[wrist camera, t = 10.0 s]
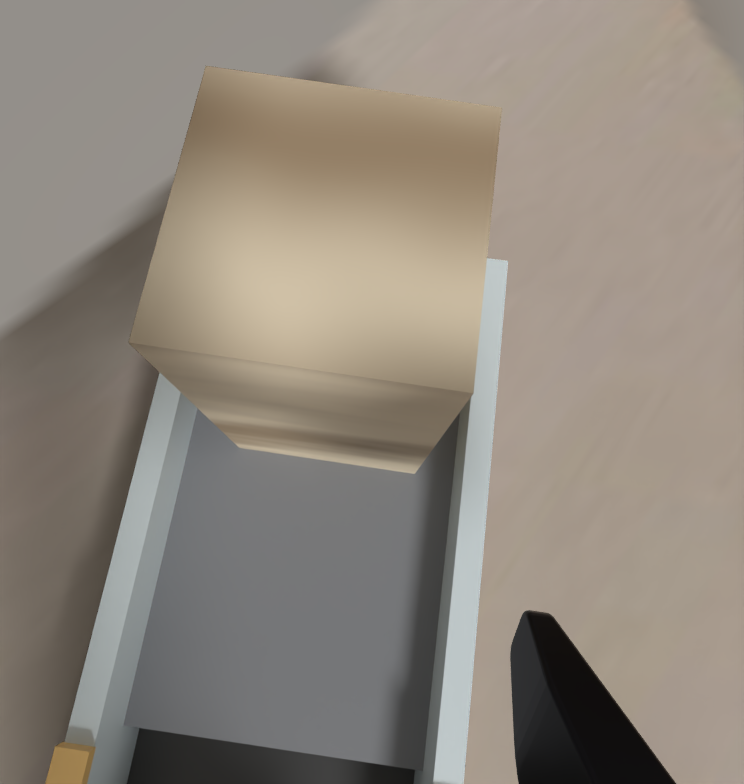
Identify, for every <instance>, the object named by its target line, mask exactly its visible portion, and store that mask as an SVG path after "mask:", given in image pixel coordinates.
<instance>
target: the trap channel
mask: <svg viewBox="0 0 744 784" xmlns="http://www.w3.org/2000/svg"><path fill="white" fill-rule="evenodd" d="M507 268H508V261H504V260H497V259H490V258H487V263H486V273H485V283H484V293H483V303H482V313H481V323H480V333H479V343H478V353H477V363H476V373H475V383H474V393H473V395H472V396H471V397H470V399H469V400H468V401H467V403H466V404H465V406H464V407H463V408H462V410H461V411H460V412H459V414H458V415H457V417H456V418H455V419H454V421H453V422H452V423H451V425H450V426H449V428H448V429H447V430H446V432H445V433H444V434H443V436H442V437H441V439H440V440H439V441H438V443H437V444H436V445H435V447H434V448H433V449H432V451H431V452H430V454H429V455H428V456H427V458H426V459H425V460H424V462H423V463H422V465H421V466H420V467H419V469H418V470H417V471H416V473H415V474H412V473H405V472H398V471H391V470H385V469H378V468H371V467H365V466H358V465H351V464H344V463H338V462H331V461H324V460H318V459H311V458H304V457H297V456H291V455H284V454H277V453H271V452H264V451H257V450H250V449H244V448H239V447H238V446H237V445H236V444H235V443H234V442H233V441H232V440H230V439H229V438H228V437H227V436H226V435H225V434H224V433H223V432H222V431H221V430H220V429H219V428H218V427H217V426H216V425H215V424H214V423H213V422H212V421H210V420H209V419H208V418H207V417H206V416H205V415H204V414H203V413H202V412H201V411H200V410H199V409H198V408H197V407H196V406H195V405H194V404H193V403H192V402H190V401H189V400H188V399H187V398H186V397H185V396H184V395H183V394H182V393H181V392H180V391H179V390H178V389H177V388H176V387H175V386H174V385H173V384H172V383H170V382H169V381H168V380H167V379H166V378H165V377H164V376H163V375H162V374H161V373H159V377H158V380H157V384H156V388H155V392H154V396H153V400H152V404H151V408H150V411H149V415H148V419H147V423H146V427H145V431H144V435H143V439H142V443H141V446H140V450H139V454H138V458H137V462H136V466H135V470H134V474H133V478H132V481H131V485H130V489H129V493H128V497H127V501H126V505H125V509H124V512H123V516H122V520H121V524H120V528H119V532H118V536H117V540H116V544H115V547H114V551H113V555H112V559H111V563H110V567H109V571H108V575H107V578H106V582H105V586H104V590H103V594H102V598H101V602H100V606H99V610H98V613H97V617H96V621H95V625H94V629H93V633H92V637H91V641H90V645H89V648H88V652H87V656H86V660H85V664H84V668H83V672H82V676H81V679H80V683H79V687H78V691H77V695H76V699H75V703H74V707H73V711H72V714H71V718H70V722H69V726H68V730H67V734H66V738H65V742H61V743H60V744H58V745H57V746H55V748H54V752H53V756H52V760H51V764H50V768H49V771H48V775H47V779H46V783H45V784H463V783H464V772H465V760H466V748H467V736H468V725H469V713H470V701H471V690H472V678H473V666H474V654H475V643H476V631H477V619H478V608H479V596H480V584H481V573H482V561H483V549H484V537H485V526H486V514H487V502H488V491H489V479H490V467H491V455H492V444H493V432H494V420H495V409H496V397H497V385H498V373H499V362H500V350H501V338H502V327H503V315H504V303H505V292H506V280H507Z"/></svg>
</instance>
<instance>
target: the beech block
mask: <svg viewBox="0 0 744 784" xmlns="http://www.w3.org/2000/svg"><path fill="white" fill-rule="evenodd" d="M501 112H502V108H501V107H494V106H487V105H479V104H472V103H465V102H458V101H451V100H444V99H437V98H430V97H423V96H416V95H409V94H402V93H395V92H388V91H381V90H373V89H366V88H359V87H352V86H345V85H338V84H331V83H324V82H317V81H310V80H303V79H296V78H289V77H282V76H275V75H268V74H260V73H253V72H246V71H238V70H232V69H225V68H218V67H210V66H206V67H205V71H204V74H203V78H202V82H201V85H200V89H199V92H198V95H197V99H196V103H195V106H194V110H193V114H192V117H191V120H190V124H189V128H188V131H187V135H186V138H185V142H184V146H183V149H182V153H181V156H180V160H179V163H178V167H177V170H176V174H175V178H174V181H173V185H172V188H171V192H170V195H169V199H168V203H167V206H166V210H165V213H164V217H163V220H162V224H161V228H160V231H159V235H158V238H157V242H156V245H155V249H154V253H153V256H152V260H151V263H150V267H149V270H148V274H147V278H146V281H145V285H144V288H143V292H142V295H141V299H140V303H139V306H138V310H137V313H136V317H135V320H134V324H133V328H132V331H131V335H130V338H129V342H128V343H129V344H130V345H131V346H133V347H134V348H135V349H136V350H137V351H138V352H139V353H140V354H141V355H142V356H143V357H144V358H145V359H146V360H147V361H148V362H149V363H150V364H152V365H153V366H154V367H155V368H156V369H157V370H158V371H159V372H160V373H161V374H162V375H163V376H164V377H165V378H166V379H167V380H168V381H169V382H170V383H172V384H173V385H174V386H175V387H176V388H177V389H178V390H179V391H180V392H181V393H182V394H183V395H184V396H185V397H186V398H187V399H188V400H189V401H190V402H192V403H193V404H194V405H195V406H196V407H197V408H198V409H199V410H200V411H201V412H202V413H203V414H204V415H205V416H206V417H207V418H208V419H209V420H210V421H212V422H213V423H214V424H215V425H216V426H217V427H218V428H219V429H220V430H221V431H222V432H223V433H224V434H225V435H226V436H227V437H228V438H229V439H230V440H232V441H233V442H234V443H235V444H236V445H237V446H238V447H239V448H244V449H250V450H257V451H264V452H271V453H277V454H284V455H291V456H297V457H304V458H311V459H318V460H324V461H331V462H338V463H344V464H351V465H358V466H365V467H371V468H378V469H385V470H391V471H398V472H405V473H412V474H415V473H416V471H417V470H418V469H419V467H420V466H421V465H422V463H423V462H424V460H425V459H426V458H427V456H428V455H429V454H430V452H431V451H432V449H433V448H434V447H435V445H436V444H437V443H438V441H439V440H440V439H441V437H442V436H443V434H444V433H445V432H446V430H447V429H448V428H449V426H450V425H451V423H452V422H453V421H454V419H455V418H456V417H457V415H458V414H459V412H460V411H461V410H462V408H463V407H464V406H465V404H466V403H467V401H468V400H469V399H470V397H471V396H472V395H473V393H474V383H475V373H476V363H477V353H478V343H479V333H480V323H481V313H482V303H483V293H484V283H485V273H486V263H487V252H488V242H489V232H490V222H491V212H492V202H493V192H494V182H495V172H496V162H497V152H498V142H499V132H500V122H501Z"/></svg>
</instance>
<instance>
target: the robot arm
mask: <svg viewBox="0 0 744 784" xmlns="http://www.w3.org/2000/svg"><path fill="white" fill-rule="evenodd" d="M510 660H511V682H512V704H513V726H514V746H515V759H516V767H517V775H518V782H519V784H676V783H675V781H674V780H673V779H672V777H671V776H670V775H669V773H668V772H667V771H666V769H665V768H664V766H663V765H662V764H661V762H660V761H659V760H658V758H657V757H656V756H655V754H654V753H653V752H652V750H651V749H650V747H649V746H648V745H647V743H646V742H645V741H644V739H643V738H642V737H641V735H640V734H639V733H638V731H637V730H636V728H635V727H634V726H633V724H632V723H631V722H630V720H629V719H628V718H627V716H626V715H625V714H624V712H623V711H622V709H621V708H620V707H619V705H618V704H617V703H616V701H615V700H614V699H613V697H612V696H611V694H610V693H609V692H608V690H607V689H606V688H605V686H604V685H603V684H602V682H601V681H600V680H599V678H598V677H597V675H596V674H595V673H594V671H593V670H592V669H591V667H590V666H589V665H588V663H587V662H586V661H585V659H584V658H583V656H582V655H581V654H580V652H579V651H578V650H577V648H576V647H575V646H574V644H573V643H572V641H571V640H570V639H569V637H568V636H567V635H566V633H565V632H564V631H563V629H562V628H561V627H560V625H559V624H558V622H557V621H556V620H555V618H554V617H553V616H552V615H550V614H549V613H544V612H537V611H530V610H528V611H525V612H524V613H523V615H522V617H521V619H520V622H519V625H518V628H517V630H516V633H515V636H514V639H513V642H512V645H511V654H510Z"/></svg>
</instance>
